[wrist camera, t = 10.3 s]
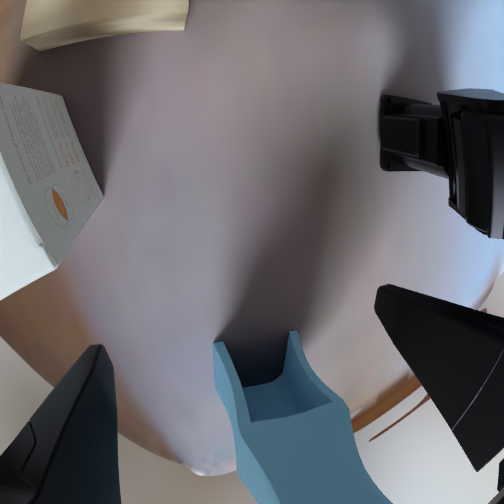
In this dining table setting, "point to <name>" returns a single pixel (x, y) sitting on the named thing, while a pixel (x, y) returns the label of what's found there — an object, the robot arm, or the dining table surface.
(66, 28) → the cream square block
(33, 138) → the small box
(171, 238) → the dining table surface
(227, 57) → the dining table surface
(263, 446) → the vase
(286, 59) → the dining table surface
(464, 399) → the robot arm
